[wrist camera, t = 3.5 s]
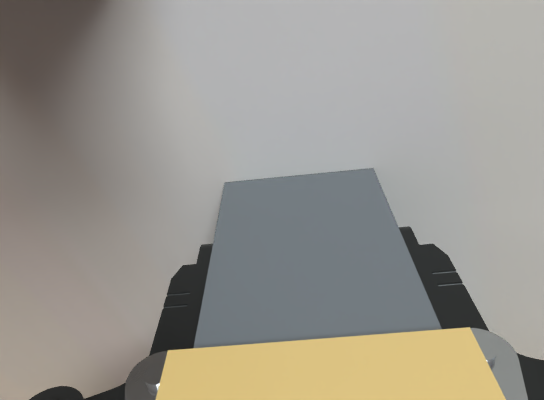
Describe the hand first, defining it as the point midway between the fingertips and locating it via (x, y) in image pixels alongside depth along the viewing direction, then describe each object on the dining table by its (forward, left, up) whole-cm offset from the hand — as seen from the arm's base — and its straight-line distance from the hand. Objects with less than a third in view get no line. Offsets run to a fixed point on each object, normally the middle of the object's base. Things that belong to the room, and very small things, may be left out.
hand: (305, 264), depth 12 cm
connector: (0, 0, -1) cm, 1 cm away
